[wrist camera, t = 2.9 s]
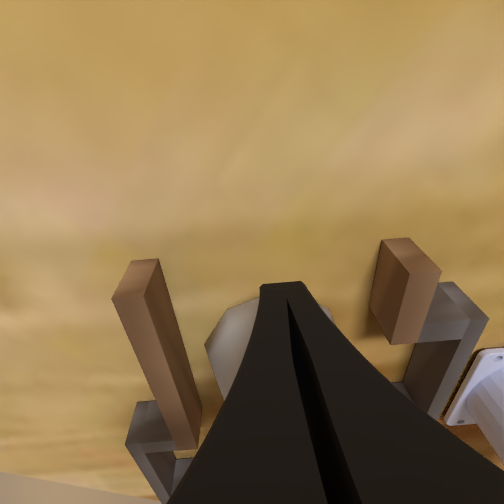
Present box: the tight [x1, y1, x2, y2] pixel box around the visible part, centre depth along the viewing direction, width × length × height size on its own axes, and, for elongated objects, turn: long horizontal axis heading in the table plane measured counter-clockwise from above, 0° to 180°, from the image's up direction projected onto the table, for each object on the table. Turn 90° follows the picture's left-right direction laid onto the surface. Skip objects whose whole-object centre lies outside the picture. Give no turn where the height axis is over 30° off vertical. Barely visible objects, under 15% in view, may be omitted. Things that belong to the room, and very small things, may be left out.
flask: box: [204, 297, 335, 401], centre depth 12 cm, size 7×7×10 cm
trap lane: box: [111, 238, 489, 504], centre depth 19 cm, size 18×26×2 cm
